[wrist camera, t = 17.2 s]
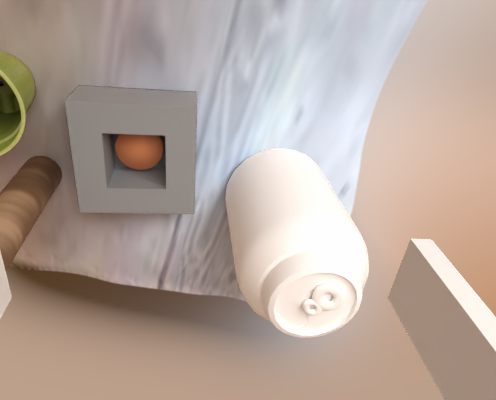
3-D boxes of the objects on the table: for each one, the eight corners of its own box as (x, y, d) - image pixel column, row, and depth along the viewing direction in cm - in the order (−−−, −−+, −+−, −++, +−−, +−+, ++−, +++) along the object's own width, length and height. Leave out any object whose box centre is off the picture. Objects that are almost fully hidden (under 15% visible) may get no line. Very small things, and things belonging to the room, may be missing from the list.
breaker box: (78, 85, 42) (64, 100, 37) (196, 91, 44) (196, 107, 39) (90, 188, 48) (79, 212, 43) (193, 190, 50) (194, 213, 45)
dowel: (20, 155, 45) (-55, 240, 31) (59, 156, 45) (2, 240, 32) (27, 187, 47) (-42, 280, 33) (63, 188, 47) (12, 280, 34)
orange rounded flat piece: (116, 120, 44) (113, 125, 42) (163, 122, 45) (162, 128, 43) (119, 162, 46) (116, 169, 45) (164, 163, 47) (163, 170, 46)
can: (287, 124, 47) (343, 217, 30) (340, 196, 53) (413, 308, 35) (203, 186, 49) (210, 305, 32) (263, 248, 55) (295, 376, 38)
